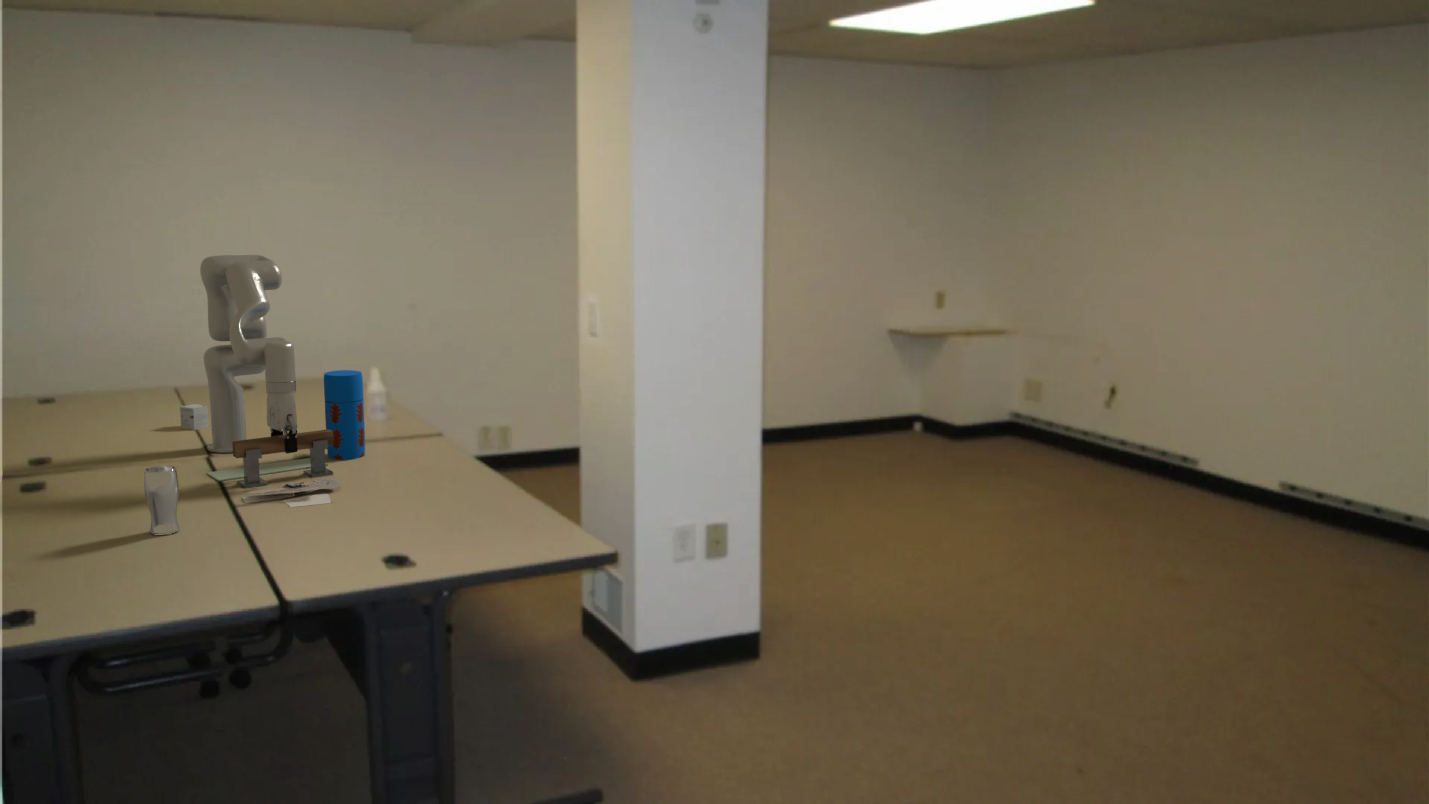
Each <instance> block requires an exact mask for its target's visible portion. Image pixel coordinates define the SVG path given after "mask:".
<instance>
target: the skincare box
mask: <svg viewBox="0 0 1429 804" xmlns="http://www.w3.org/2000/svg"><path fill="white" fill-rule="evenodd" d="M208 408H209V406H208V405H204V404H198V403H192V404H186V405H181V406H180V407H179V413H180V414H179V415H180V428H181V429H185V430H192V431H196V430H197V431H198V430H201V429H205V428H209V427H210V425H209V409H208Z"/></svg>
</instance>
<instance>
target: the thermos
mask: <svg viewBox="0 0 1429 804" xmlns="http://www.w3.org/2000/svg"><path fill="white" fill-rule="evenodd" d="M363 381H364V379H363V374H362V371H360V370H354V369H353V370H347V369H346V370H344V369H343V370H341V369H340V370H330V371H327V372H324V373H323V390H324V391H323V393H324V414H325V415H324V416H325V430H327V429H329V430H331V431H333V445H331V446H328V449H326V451H327V457H328V459H330V460H339V461H347V460H349V461H350V460H356V459H360V458H363V457H365V455H366V431H365V430H366V429H365V428H366V427H365V404H364V403H365V402H364V384H363V383H364V382H363Z"/></svg>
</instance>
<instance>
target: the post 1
mask: <svg viewBox="0 0 1429 804" xmlns="http://www.w3.org/2000/svg"><path fill="white" fill-rule="evenodd" d="M262 458H263V455H262V451H261V448H258V449H251V450H245V457H243V458H242V461H243V462H242V463H243V467H244V478H243V479H237V480H236V484H237V485H239V486H240V487H242V488H243V489H250V488H254V487H261V486H268V484H269V482H268V480H265V479H263V478H262V477H260V476H261V475H259V465H260V461H259V460H260V459H262Z"/></svg>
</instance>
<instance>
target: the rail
mask: <svg viewBox="0 0 1429 804" xmlns="http://www.w3.org/2000/svg"><path fill="white" fill-rule="evenodd" d="M285 438H286V437H285V434H283V435H279V436H271V435H270V436H264V437H256V438H249V439H247V440H240V441H232V445H233V452H232V457H234V458H235V459H243V457H245V450H251V449H258V448H261V451H262V456H263V455H271V454H280V453H285V444H284V439H285ZM326 439H327V440H328V446H331V445H333V431H331V430H329V429H327V430H326V429H320V430H312V431H303V432H297V450H298V451H300V450H301V451H302V450H307V449H309V448H313V442H312V441H318V440H326ZM309 450H310V449H309Z"/></svg>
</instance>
